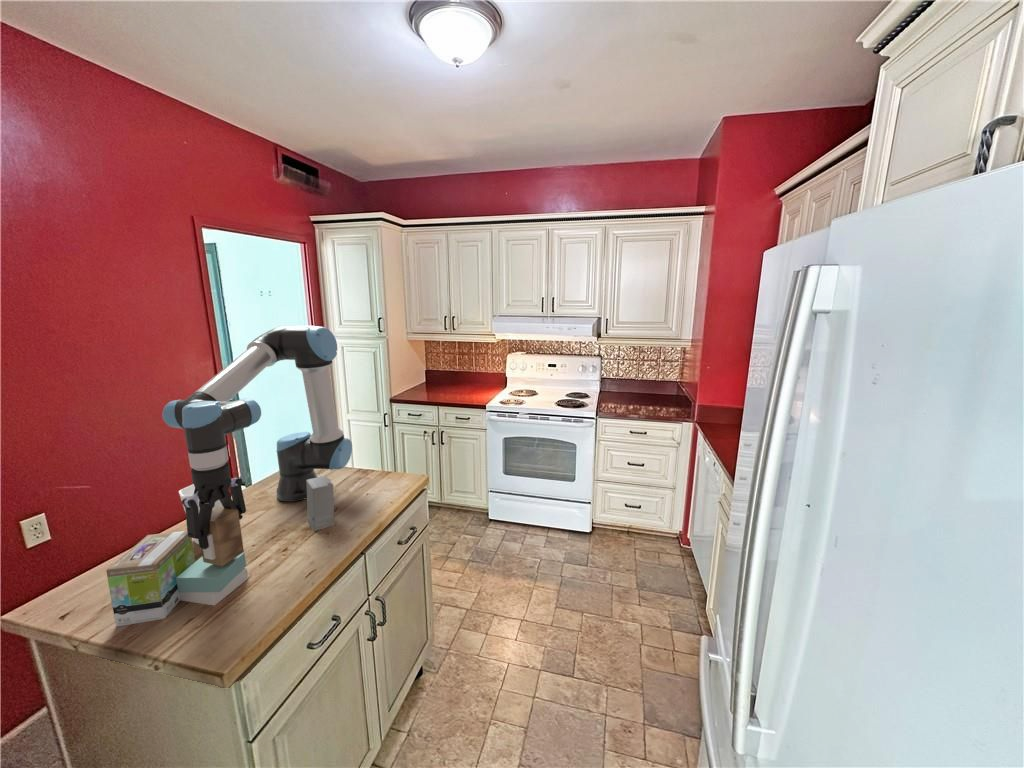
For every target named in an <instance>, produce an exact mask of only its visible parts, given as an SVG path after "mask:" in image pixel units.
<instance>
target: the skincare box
mask: <svg viewBox="0 0 1024 768" xmlns="http://www.w3.org/2000/svg"><path fill="white" fill-rule="evenodd" d="M306 483H307V498H306V503H307V505H306V507H307V508H306V509H307V523H308V525H309V524H310V525H309V526H311V527H312V528H311V527H310V528H311V529H312V531H314V532H317V530H318V531H321V530H323V529H322V528H324V529H326V528H325V527H327V528H329V527H332V526H334V525H335V504H334V500H335V499H334V484H333V482H332V481H331V479H330V478H329V477H328V476H327V475H323V476H317V478H312V479H308V480H306ZM333 524H334V525H333ZM331 525H332V526H331ZM328 526H329V527H328ZM320 529H321V530H320Z"/></svg>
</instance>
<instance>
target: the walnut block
mask: <svg viewBox="0 0 1024 768" xmlns="http://www.w3.org/2000/svg"><path fill="white" fill-rule="evenodd" d="M240 520H241V519H239V513H238V510H237V509H227V508H224V507H218V508H216V509H214V510H212V514H211V520H210V527H209V534H212V537H213V544H214V550H215V557H216V558H215V559H214V560H211V559H206V558H204V552H203V549H201V548H200V550H201V554H202V555H201V557H202V556H203V562H205V563H210V564H215V565H219V566H223V565H225V564H226V563H228V562H229V561H231V560H232V559H234V558H235V557H237V556H238V555H240V554H242V553H243V552H244V553H245V550H244V541H243V535H242V529H241V522H240Z"/></svg>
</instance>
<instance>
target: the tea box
mask: <svg viewBox="0 0 1024 768" xmlns="http://www.w3.org/2000/svg"><path fill="white" fill-rule="evenodd" d="M194 552H195V551H194V545H193V538H190V537H188V533H187V530H183V531H182V530H181V531H173V532H164V533H155V534H147V535H145V537H144V538H142V539H141V540H140V541H139V542H137V544H135V545H133V547H132V548H131V549H129V550H128V551H127V552H125V554H123V555H122V556H121V557H120V558H119V559H118V560H116V561H115V562H114V563H113V564H111V565H110V566H109V567H108V568H107V569H106V576H107V577H106V578H107V583H108V588H109V595H110V601H111V607H112V611H113V618H114V623H115V627H116V626H117V627H123V626H128V625H133V624H140V623H146V622H152V621H153V622H154V621H157V620H165V619H166V618H167V616H168V615H169V614H170V613H171V612H172V610H173V609H174V608H175V607H176V606H177V605H178V603H179V602H180V601H181V600H180V595H179V592H178V587H177V581H176V577H178V576H179V575H180V574H181V573H183V572H184V571H185V570H186V569H187V568H189V567H190V566H191V565H192V564H193V563H195V562H196V559H195V555H194V554H195V553H194Z"/></svg>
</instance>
